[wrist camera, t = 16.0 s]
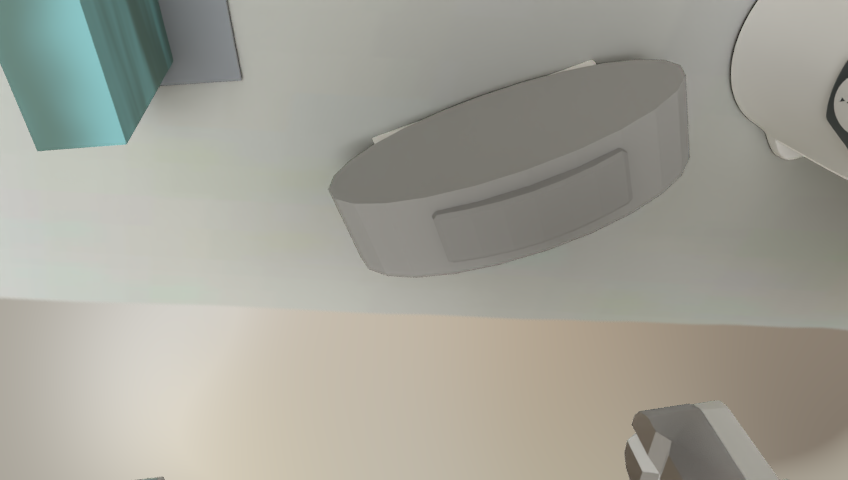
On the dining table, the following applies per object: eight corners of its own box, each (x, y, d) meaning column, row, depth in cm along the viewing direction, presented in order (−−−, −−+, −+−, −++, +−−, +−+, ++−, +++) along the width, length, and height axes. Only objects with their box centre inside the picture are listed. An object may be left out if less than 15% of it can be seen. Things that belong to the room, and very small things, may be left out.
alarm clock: (357, 211, 48) (369, 322, 37) (326, 144, 44) (330, 246, 34) (643, 112, 46) (737, 197, 36) (635, 34, 43) (738, 105, 32)
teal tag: (137, -80, 34) (67, -38, 24) (173, 61, 39) (126, 144, 29) (62, -77, 34) (-41, -33, 24) (107, 65, 38) (37, 150, 29)
